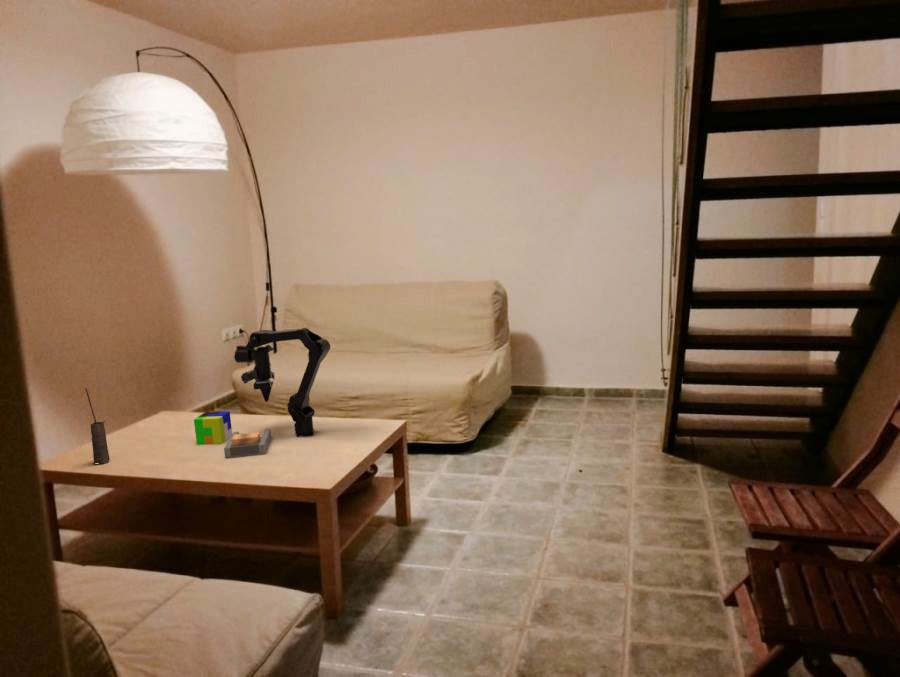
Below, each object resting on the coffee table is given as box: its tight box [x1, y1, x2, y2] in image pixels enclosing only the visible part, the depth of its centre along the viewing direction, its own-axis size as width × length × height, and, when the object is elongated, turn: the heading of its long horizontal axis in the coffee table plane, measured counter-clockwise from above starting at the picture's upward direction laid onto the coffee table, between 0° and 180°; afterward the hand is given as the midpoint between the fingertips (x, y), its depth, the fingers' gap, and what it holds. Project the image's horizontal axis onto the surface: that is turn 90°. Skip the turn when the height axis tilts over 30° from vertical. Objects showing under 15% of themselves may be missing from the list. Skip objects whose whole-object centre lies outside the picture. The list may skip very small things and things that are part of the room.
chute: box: [223, 428, 272, 459], centre depth 257 cm, size 14×20×4 cm
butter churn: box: [84, 387, 111, 464], centre depth 249 cm, size 9×10×28 cm
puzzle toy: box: [193, 411, 233, 445], centre depth 269 cm, size 10×10×10 cm
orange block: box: [231, 431, 261, 446], centre depth 253 cm, size 9×6×5 cm, turn 98°
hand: (266, 401), depth 272 cm, fingers closed
